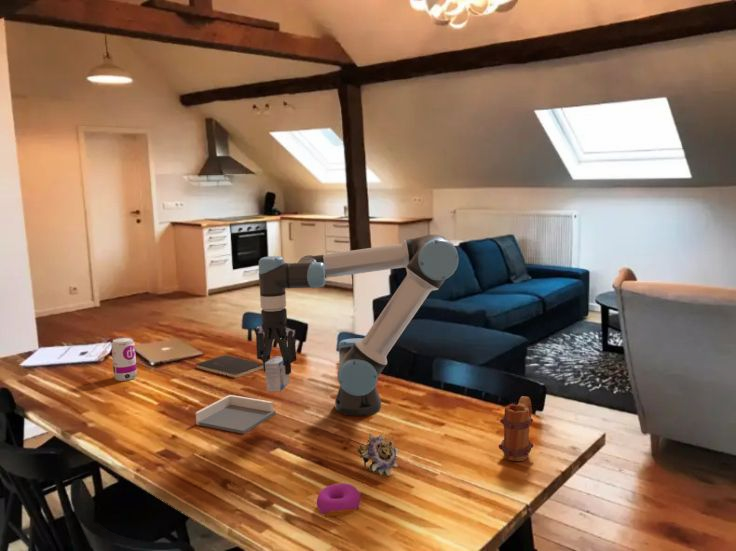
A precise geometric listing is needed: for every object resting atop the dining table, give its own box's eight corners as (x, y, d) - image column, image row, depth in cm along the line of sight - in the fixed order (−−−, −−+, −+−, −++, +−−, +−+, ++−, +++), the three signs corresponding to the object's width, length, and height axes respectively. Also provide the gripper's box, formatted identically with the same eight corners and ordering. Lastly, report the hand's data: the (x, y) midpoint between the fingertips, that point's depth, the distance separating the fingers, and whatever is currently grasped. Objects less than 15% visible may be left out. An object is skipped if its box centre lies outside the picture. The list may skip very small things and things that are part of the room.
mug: (524, 468, 165) (526, 413, 163) (495, 461, 170) (495, 407, 167) (541, 447, 178) (543, 395, 175) (513, 441, 182) (514, 390, 179)
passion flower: (387, 495, 164) (378, 472, 155) (352, 477, 169) (342, 454, 161) (409, 459, 170) (401, 435, 161) (375, 443, 175) (366, 419, 167)
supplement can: (141, 376, 245) (138, 338, 243) (123, 382, 239) (120, 344, 236) (128, 373, 250) (125, 336, 247) (109, 379, 243) (106, 341, 240)
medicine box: (280, 392, 190) (279, 364, 188) (266, 391, 191) (264, 363, 189) (289, 383, 197) (288, 356, 196) (275, 382, 198) (274, 355, 197)
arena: (275, 414, 205) (275, 402, 204) (244, 433, 190) (243, 421, 189) (230, 406, 213) (229, 394, 212) (196, 424, 198) (195, 412, 197)
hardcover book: (235, 379, 241) (235, 374, 241) (196, 369, 255) (195, 363, 255) (265, 368, 254) (265, 363, 254) (226, 359, 268) (226, 354, 267)
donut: (322, 496, 153) (321, 478, 152) (363, 498, 152) (363, 480, 151) (313, 519, 143) (312, 500, 142) (357, 522, 142) (357, 503, 141)
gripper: (306, 307, 189) (310, 382, 193) (255, 304, 197) (260, 376, 201) (293, 313, 183) (297, 390, 186) (241, 309, 190) (245, 383, 194)
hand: (277, 382), depth 194 cm, fingers closed on medicine box, 5 cm apart
